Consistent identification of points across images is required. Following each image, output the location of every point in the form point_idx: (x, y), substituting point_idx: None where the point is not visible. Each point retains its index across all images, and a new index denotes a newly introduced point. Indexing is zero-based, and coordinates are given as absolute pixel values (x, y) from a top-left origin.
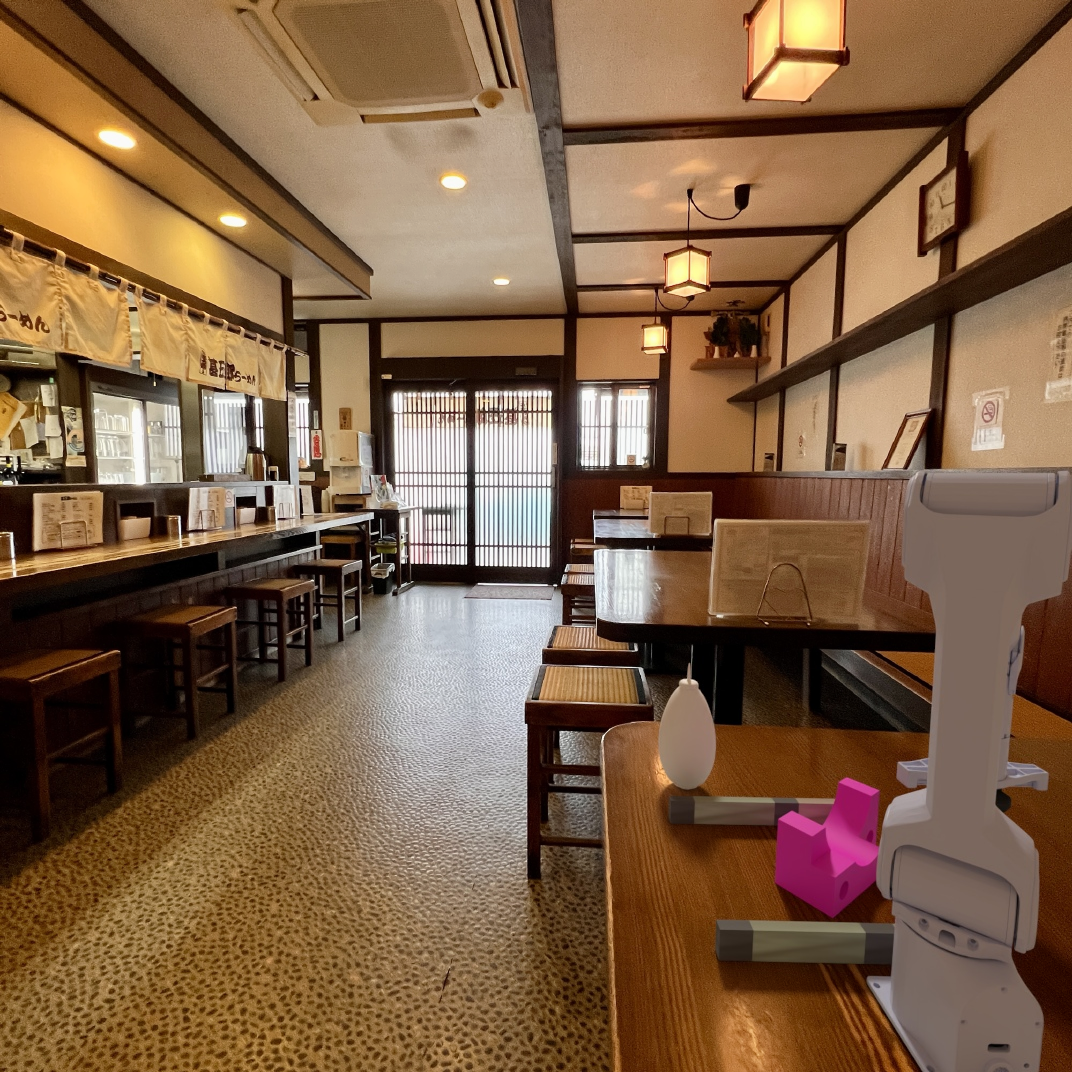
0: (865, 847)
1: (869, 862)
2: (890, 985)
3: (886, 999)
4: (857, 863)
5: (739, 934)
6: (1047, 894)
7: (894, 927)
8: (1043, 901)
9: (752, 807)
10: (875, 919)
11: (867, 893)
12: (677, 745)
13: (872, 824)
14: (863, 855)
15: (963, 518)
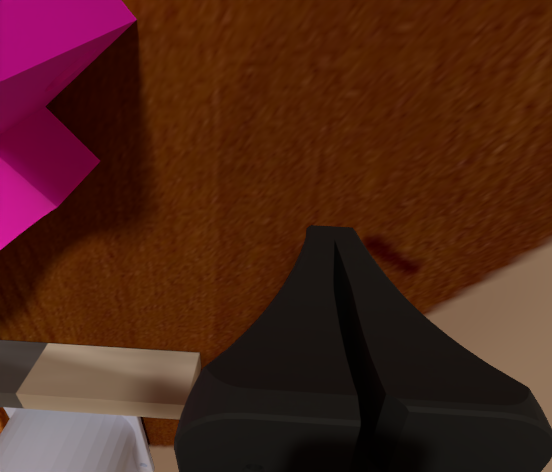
0: (11, 181)
1: (17, 232)
2: (8, 421)
3: (12, 408)
4: None
5: None
6: (518, 234)
7: (17, 400)
8: (477, 253)
9: None
10: (45, 282)
11: (47, 217)
12: None
13: (54, 75)
14: (4, 205)
15: None
